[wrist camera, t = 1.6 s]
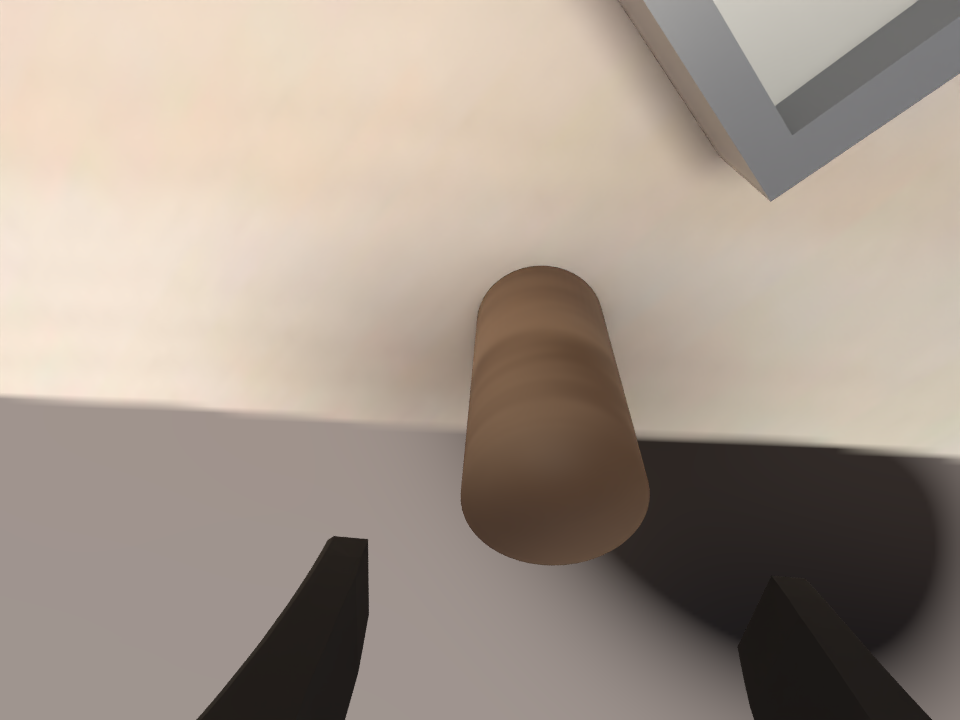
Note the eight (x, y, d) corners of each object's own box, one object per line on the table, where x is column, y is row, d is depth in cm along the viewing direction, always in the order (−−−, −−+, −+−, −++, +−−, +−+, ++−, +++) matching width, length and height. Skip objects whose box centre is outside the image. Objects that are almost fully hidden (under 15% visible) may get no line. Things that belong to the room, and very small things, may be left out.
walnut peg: (627, 331, 20) (686, 512, 14) (528, 396, 22) (537, 588, 15) (551, 240, 19) (575, 391, 12) (451, 315, 20) (422, 489, 14)
